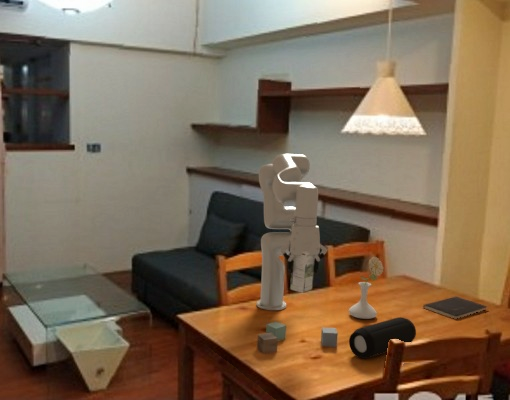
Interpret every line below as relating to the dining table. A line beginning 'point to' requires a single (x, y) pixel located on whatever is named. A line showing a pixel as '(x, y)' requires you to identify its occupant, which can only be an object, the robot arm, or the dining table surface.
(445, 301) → the hardcover book
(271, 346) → the walnut cube
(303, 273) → the syrup box
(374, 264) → the flower in vase
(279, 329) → the sage green cube
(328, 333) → the slate grey cube
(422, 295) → the dining table surface
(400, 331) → the portable speaker
